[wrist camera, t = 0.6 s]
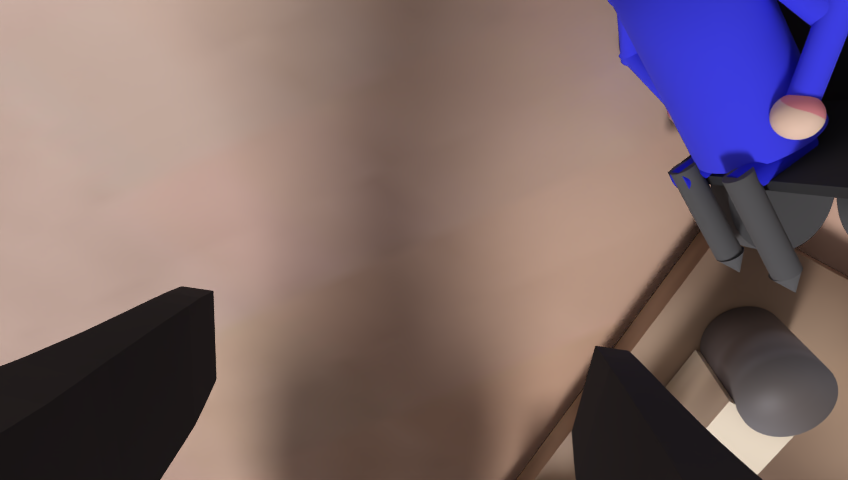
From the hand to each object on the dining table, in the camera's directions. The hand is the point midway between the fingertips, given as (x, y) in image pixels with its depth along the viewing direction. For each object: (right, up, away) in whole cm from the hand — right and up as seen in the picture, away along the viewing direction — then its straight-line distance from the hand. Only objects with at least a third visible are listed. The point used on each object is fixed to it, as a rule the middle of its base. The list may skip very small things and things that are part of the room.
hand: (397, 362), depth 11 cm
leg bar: (+10, -5, +11) cm, 15 cm away
